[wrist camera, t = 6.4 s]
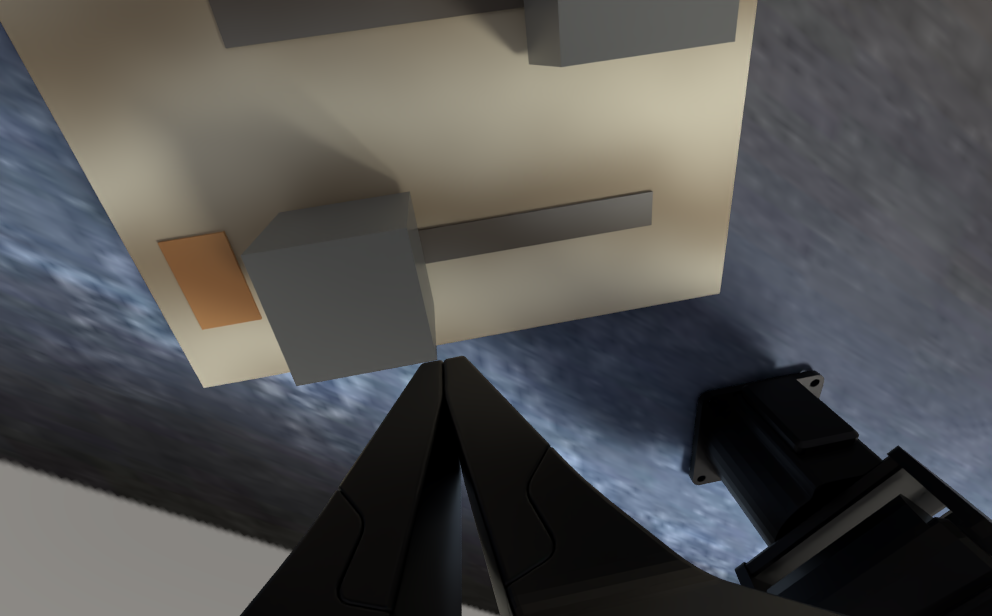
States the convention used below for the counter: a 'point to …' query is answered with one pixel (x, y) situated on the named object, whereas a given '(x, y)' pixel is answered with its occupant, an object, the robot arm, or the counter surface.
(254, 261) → the grey boxy piece
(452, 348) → the counter surface
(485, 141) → the switch panel
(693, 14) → the tab middle
